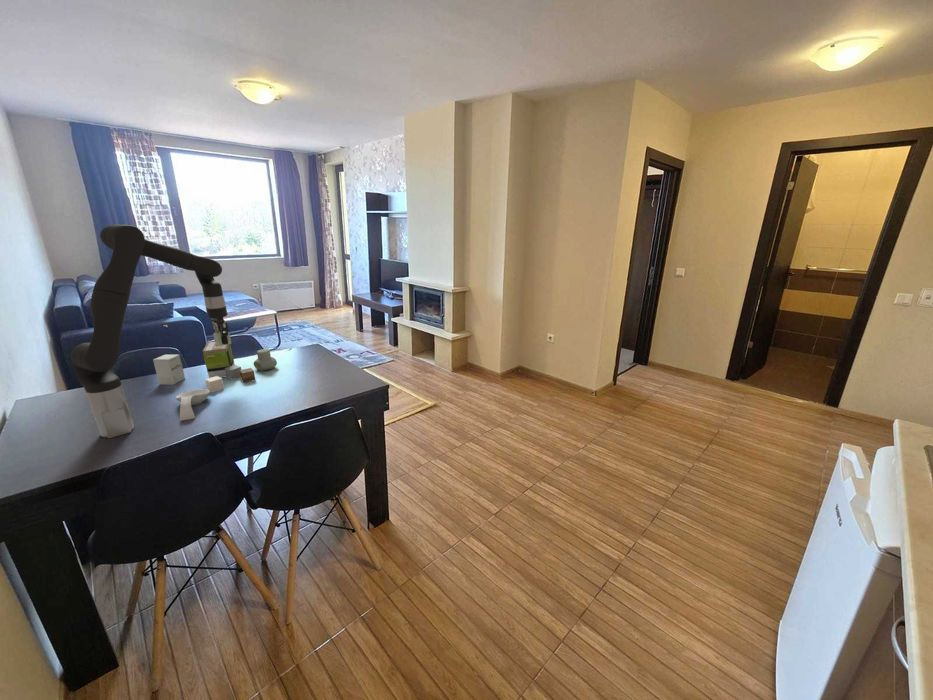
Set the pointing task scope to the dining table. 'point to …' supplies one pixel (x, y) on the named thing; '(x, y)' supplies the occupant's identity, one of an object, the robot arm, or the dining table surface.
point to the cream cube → (214, 383)
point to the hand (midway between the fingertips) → (223, 342)
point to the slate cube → (233, 372)
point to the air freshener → (264, 360)
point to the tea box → (217, 359)
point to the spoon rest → (191, 402)
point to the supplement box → (169, 369)
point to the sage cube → (218, 339)
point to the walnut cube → (247, 375)
